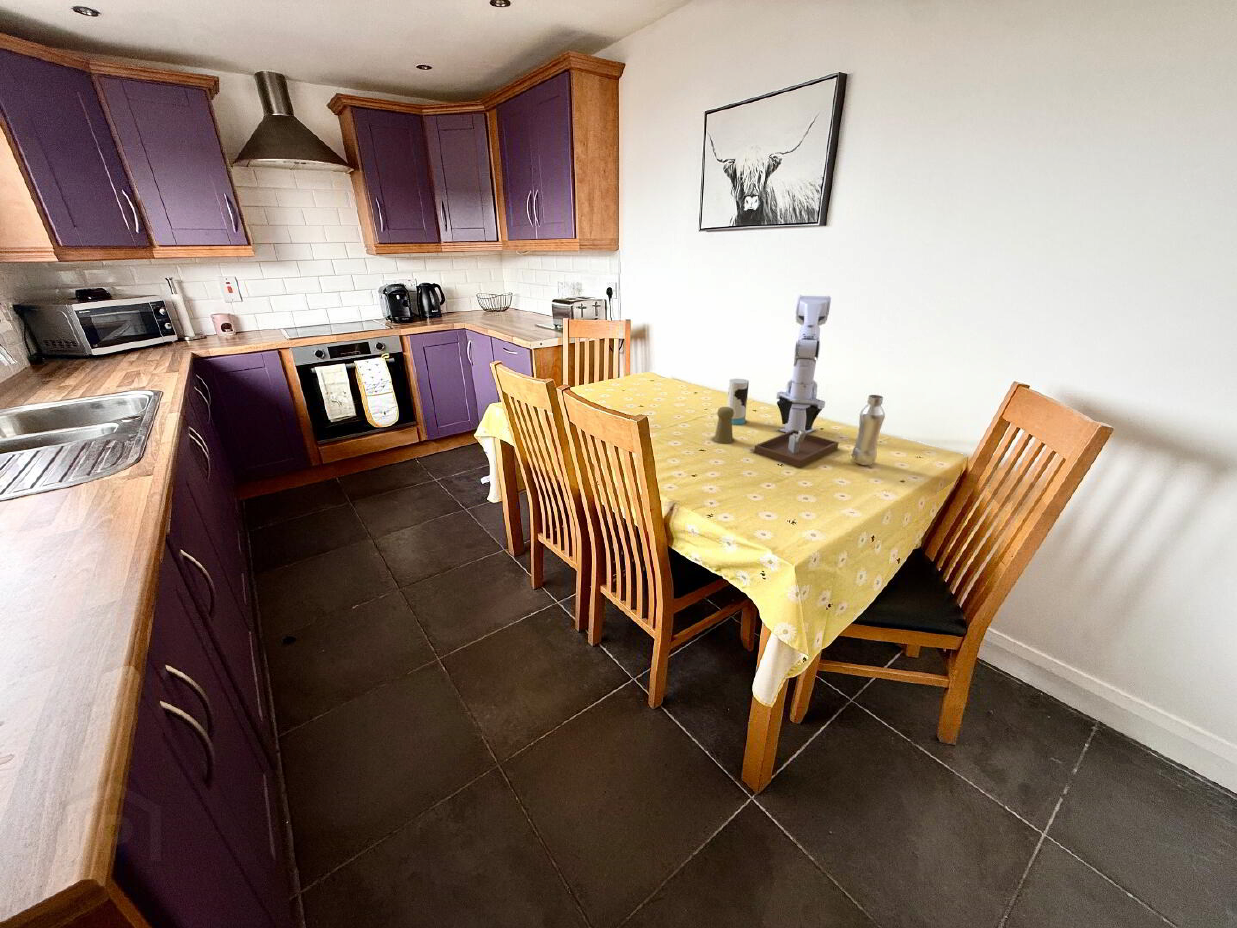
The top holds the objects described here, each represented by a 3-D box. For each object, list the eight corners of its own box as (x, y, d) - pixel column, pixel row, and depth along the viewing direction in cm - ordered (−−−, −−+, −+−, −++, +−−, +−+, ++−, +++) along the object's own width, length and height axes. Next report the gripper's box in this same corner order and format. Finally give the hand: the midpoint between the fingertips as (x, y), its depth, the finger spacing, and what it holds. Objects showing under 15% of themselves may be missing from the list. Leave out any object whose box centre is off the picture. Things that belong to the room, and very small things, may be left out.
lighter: (787, 448, 156) (791, 423, 152) (793, 448, 156) (796, 423, 152) (797, 457, 149) (801, 431, 146) (803, 456, 149) (806, 431, 146)
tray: (792, 436, 166) (793, 429, 165) (837, 449, 155) (838, 442, 154) (753, 452, 154) (754, 445, 153) (799, 468, 143) (800, 460, 142)
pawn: (731, 437, 166) (734, 405, 162) (733, 443, 161) (736, 410, 156) (713, 436, 167) (715, 404, 163) (714, 443, 161) (717, 410, 157)
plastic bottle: (873, 460, 147) (887, 394, 139) (876, 469, 141) (890, 400, 133) (849, 457, 149) (861, 392, 141) (851, 466, 143) (864, 398, 135)
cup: (748, 423, 178) (752, 382, 172) (730, 425, 177) (734, 384, 171) (740, 418, 184) (743, 378, 178) (723, 419, 183) (726, 379, 177)
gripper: (772, 379, 146) (767, 423, 152) (818, 389, 136) (811, 435, 142) (786, 375, 151) (780, 418, 156) (831, 384, 140) (824, 430, 146)
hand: (796, 426), depth 149 cm, fingers open, 7 cm apart
